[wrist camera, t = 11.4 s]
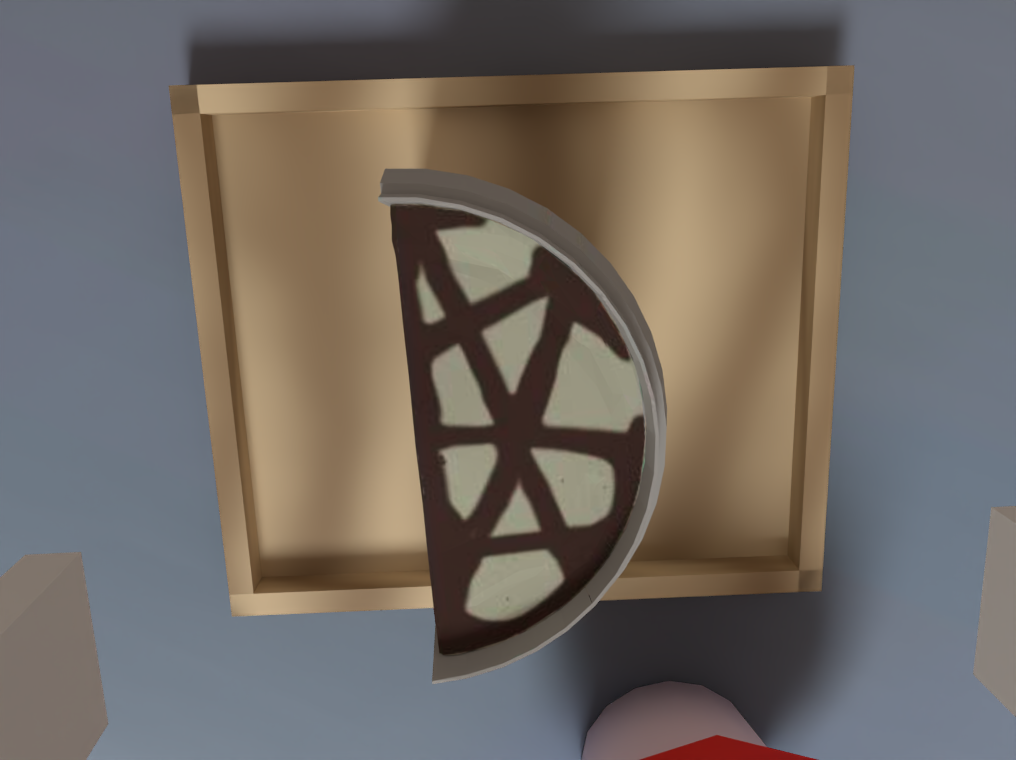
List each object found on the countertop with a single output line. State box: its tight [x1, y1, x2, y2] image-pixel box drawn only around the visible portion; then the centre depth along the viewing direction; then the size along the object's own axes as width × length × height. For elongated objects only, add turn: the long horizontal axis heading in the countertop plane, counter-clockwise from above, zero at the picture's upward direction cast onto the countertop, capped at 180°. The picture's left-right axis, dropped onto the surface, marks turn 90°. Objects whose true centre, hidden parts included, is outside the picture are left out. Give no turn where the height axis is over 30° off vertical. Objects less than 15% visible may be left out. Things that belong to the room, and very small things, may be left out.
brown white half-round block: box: [378, 169, 667, 684], centre depth 24 cm, size 12×6×10 cm, turn 4°
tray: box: [169, 65, 854, 616], centre depth 29 cm, size 20×17×2 cm
